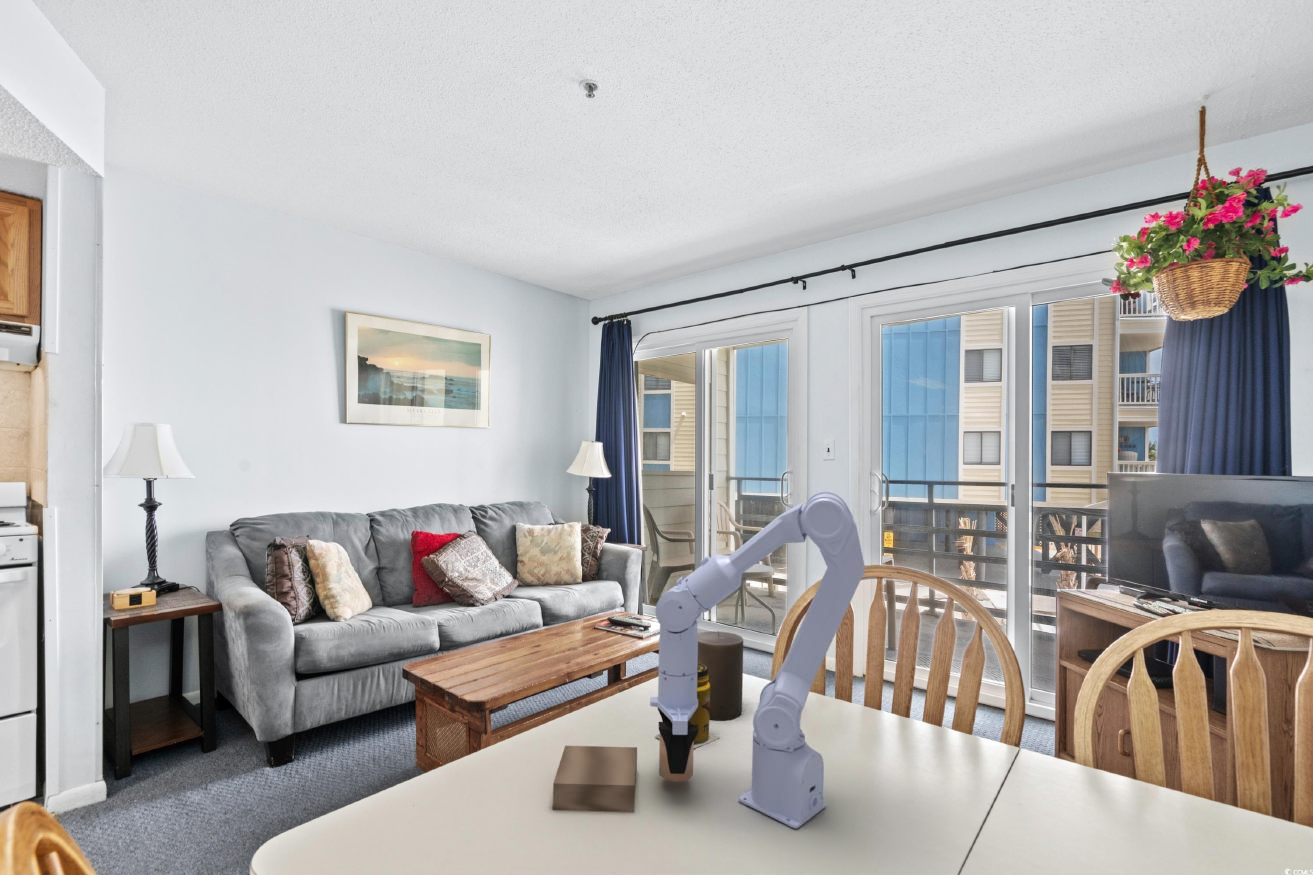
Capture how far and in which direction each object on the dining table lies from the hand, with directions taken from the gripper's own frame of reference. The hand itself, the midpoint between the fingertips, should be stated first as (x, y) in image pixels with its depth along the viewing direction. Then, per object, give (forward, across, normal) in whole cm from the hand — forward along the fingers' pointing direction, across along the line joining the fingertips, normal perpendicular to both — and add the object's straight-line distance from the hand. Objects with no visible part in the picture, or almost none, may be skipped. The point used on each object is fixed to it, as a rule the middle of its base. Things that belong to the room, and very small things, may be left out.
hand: (676, 762), depth 94 cm
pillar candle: (+3, -28, +9) cm, 29 cm away
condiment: (+3, -16, +3) cm, 16 cm away
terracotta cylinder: (+2, 0, 0) cm, 2 cm away
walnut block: (+4, +1, -11) cm, 12 cm away
